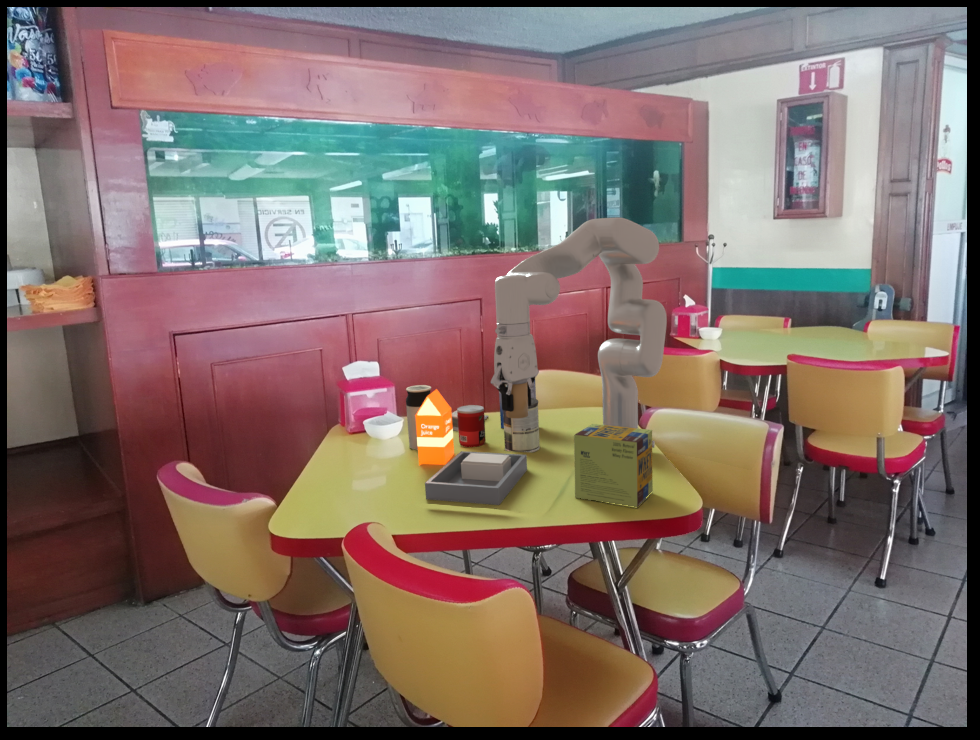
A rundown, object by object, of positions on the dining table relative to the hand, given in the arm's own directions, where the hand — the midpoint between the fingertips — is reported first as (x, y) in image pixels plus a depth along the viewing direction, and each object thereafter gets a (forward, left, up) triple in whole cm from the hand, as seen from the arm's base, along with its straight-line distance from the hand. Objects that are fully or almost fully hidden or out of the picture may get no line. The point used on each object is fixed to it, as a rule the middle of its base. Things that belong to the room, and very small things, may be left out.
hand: (516, 407), depth 159 cm
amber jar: (0, 0, -2) cm, 2 cm away
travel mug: (+39, -32, -22) cm, 55 cm away
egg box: (+11, -9, -21) cm, 25 cm away
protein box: (-22, -4, -22) cm, 31 cm away
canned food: (+25, -37, -22) cm, 50 cm away
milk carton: (+16, -56, -22) cm, 62 cm away
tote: (+11, -3, -22) cm, 25 cm away
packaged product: (+36, -58, -22) cm, 72 cm away
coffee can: (+9, -35, -22) cm, 42 cm away
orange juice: (+29, -19, -22) cm, 41 cm away
